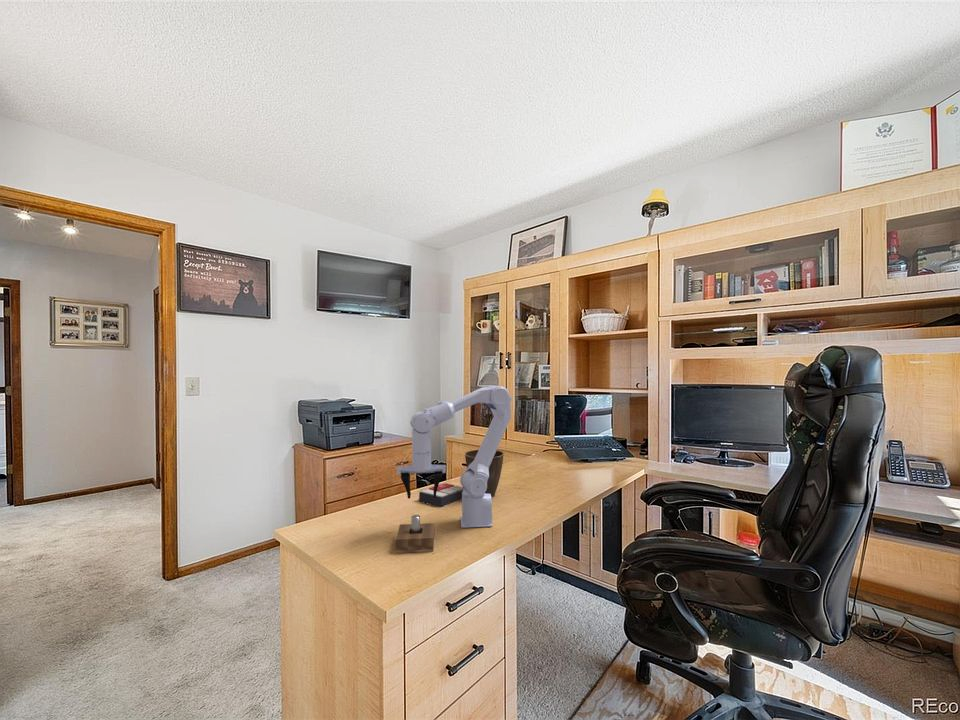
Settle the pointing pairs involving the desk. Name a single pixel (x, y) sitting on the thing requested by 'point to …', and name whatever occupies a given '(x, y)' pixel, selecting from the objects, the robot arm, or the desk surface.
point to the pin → (415, 524)
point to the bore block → (415, 538)
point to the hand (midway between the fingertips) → (422, 496)
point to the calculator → (441, 495)
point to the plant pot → (493, 469)
